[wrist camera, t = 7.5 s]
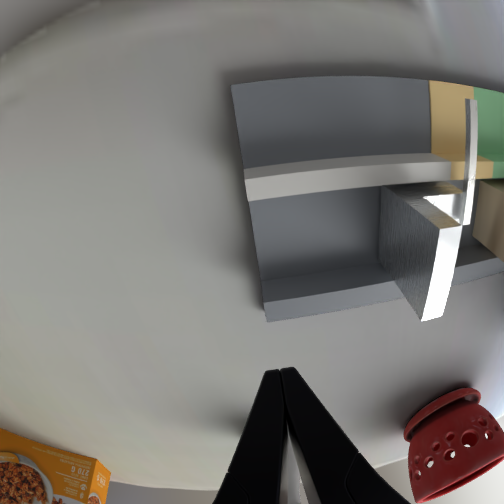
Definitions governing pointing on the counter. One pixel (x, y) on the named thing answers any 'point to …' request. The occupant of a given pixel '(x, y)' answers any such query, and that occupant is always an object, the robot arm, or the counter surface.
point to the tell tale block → (490, 216)
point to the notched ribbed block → (427, 230)
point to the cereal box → (48, 474)
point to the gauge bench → (352, 179)
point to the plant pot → (451, 444)
